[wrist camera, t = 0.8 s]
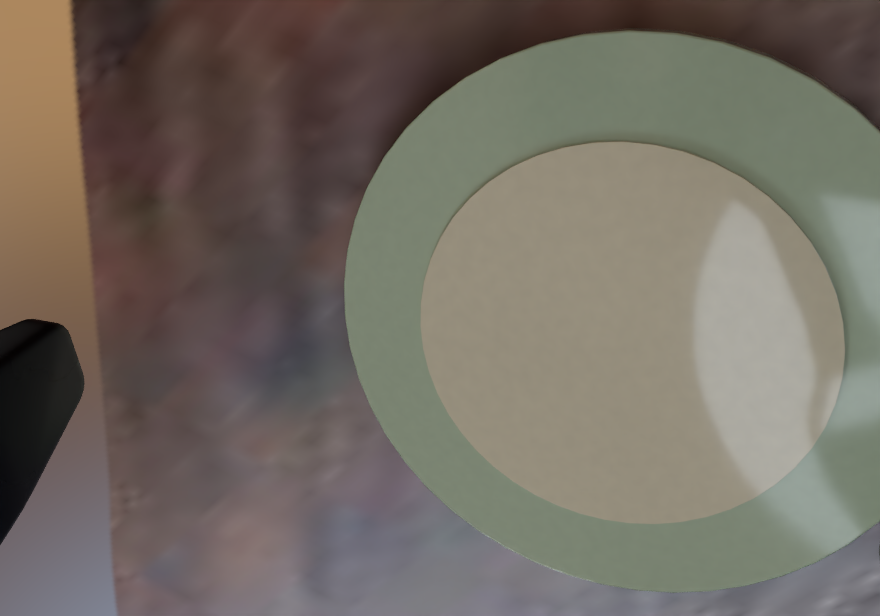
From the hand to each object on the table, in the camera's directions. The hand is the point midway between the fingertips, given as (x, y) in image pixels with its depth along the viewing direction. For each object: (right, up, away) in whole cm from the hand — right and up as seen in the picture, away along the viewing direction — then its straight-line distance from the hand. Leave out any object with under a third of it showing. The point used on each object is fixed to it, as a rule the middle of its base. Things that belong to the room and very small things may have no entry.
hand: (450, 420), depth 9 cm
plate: (+5, +1, +14) cm, 15 cm away
